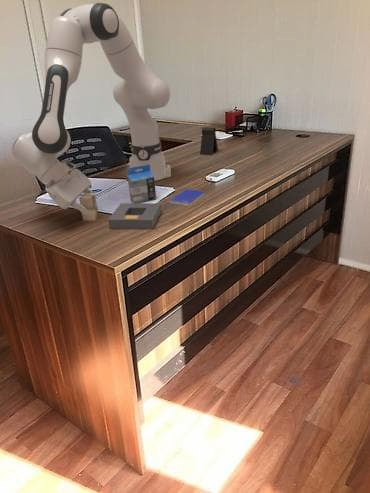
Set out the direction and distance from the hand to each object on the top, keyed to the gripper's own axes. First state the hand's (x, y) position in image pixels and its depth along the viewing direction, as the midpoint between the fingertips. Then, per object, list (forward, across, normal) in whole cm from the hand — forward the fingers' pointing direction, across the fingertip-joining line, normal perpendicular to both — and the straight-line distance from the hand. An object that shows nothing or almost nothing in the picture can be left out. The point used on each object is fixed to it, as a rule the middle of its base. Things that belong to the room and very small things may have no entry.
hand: (90, 205), depth 142 cm
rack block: (+14, -1, -8) cm, 16 cm away
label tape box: (+13, +17, -6) cm, 22 cm away
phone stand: (+26, +82, -19) cm, 88 cm away
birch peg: (+3, 0, +4) cm, 5 cm away
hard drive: (+25, +19, -17) cm, 35 cm away
